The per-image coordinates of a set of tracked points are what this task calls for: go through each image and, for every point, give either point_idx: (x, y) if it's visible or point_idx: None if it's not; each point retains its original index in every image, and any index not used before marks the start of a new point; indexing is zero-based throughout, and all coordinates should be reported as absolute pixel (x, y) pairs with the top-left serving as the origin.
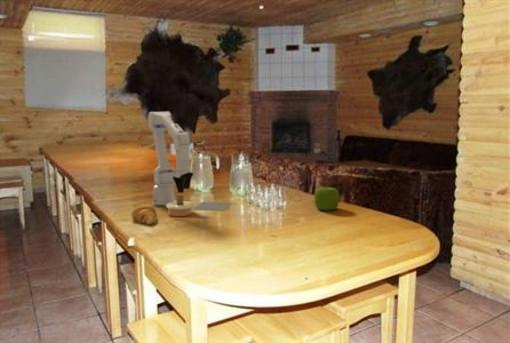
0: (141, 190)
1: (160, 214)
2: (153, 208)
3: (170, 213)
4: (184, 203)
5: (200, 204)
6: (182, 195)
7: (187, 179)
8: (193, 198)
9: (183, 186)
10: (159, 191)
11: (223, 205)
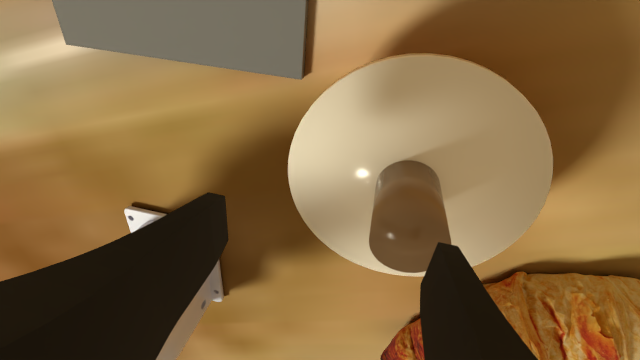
0: None
1: None
2: (529, 339)
3: None
4: (369, 158)
5: (141, 41)
6: (408, 221)
7: (132, 315)
8: (12, 126)
9: (503, 320)
10: (169, 338)
11: None
